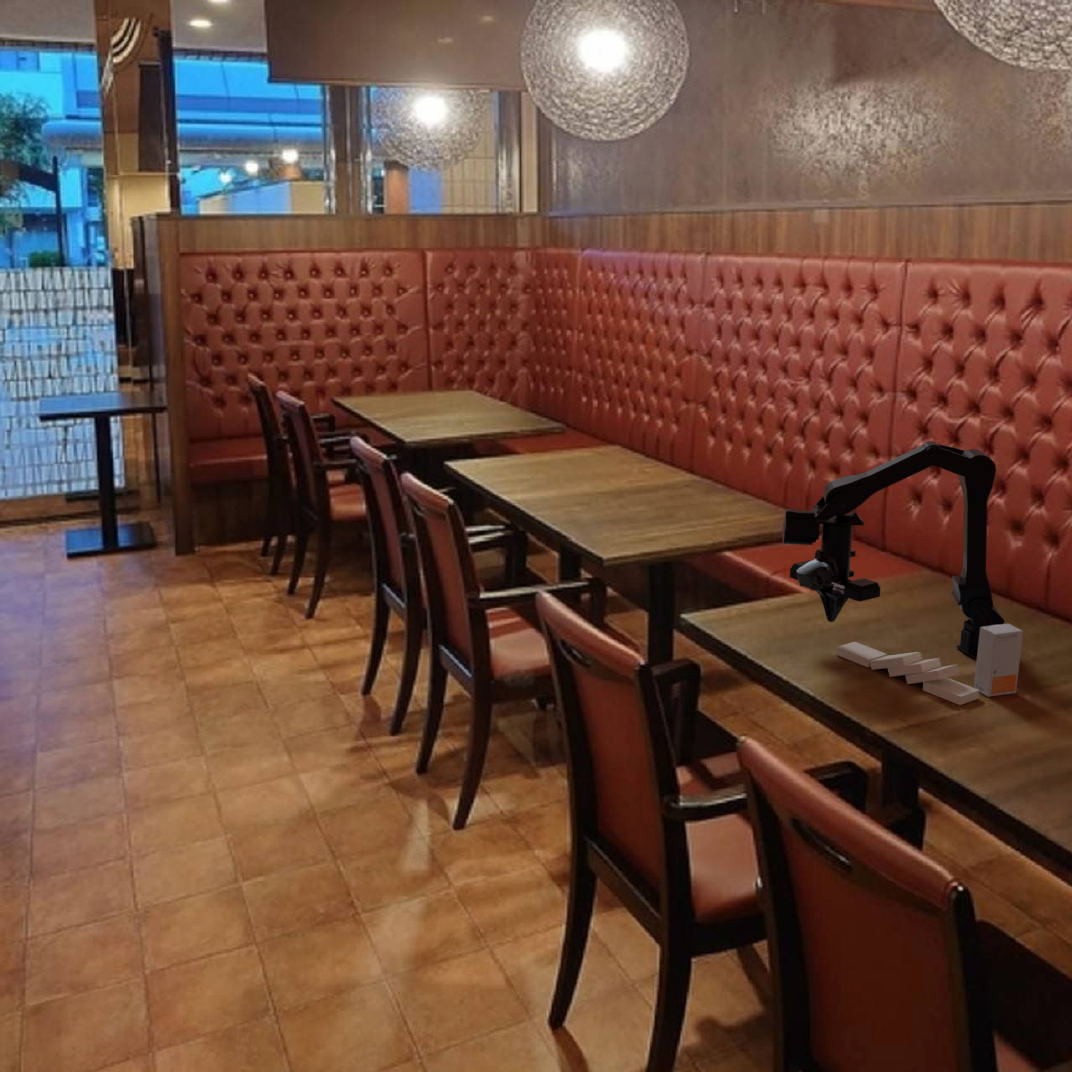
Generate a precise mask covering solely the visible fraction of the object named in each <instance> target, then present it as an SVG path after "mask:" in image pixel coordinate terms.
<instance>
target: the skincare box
mask: <svg viewBox="0 0 1072 1072" xmlns="http://www.w3.org/2000/svg"><path fill="white" fill-rule="evenodd" d="M1023 636H1024V630H1022V629H1020V628H1018V627H1016V626H1015V625H1012V624H1010V623H1004V624H1001V625H991V626H985V627H980V634H979V644H978V653H977V659H976V665H975V673H974V683H973V688H975V689H978V690H979V693H980V694H982V695H984V696H986V697H988V698H989V697H997V696H1003V695H1011V694H1016V693H1017V687H1018V677H1019V671H1020V670H1019V668H1020V663H1021V661H1020V660H1021V653H1022V645H1023Z"/></svg>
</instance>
